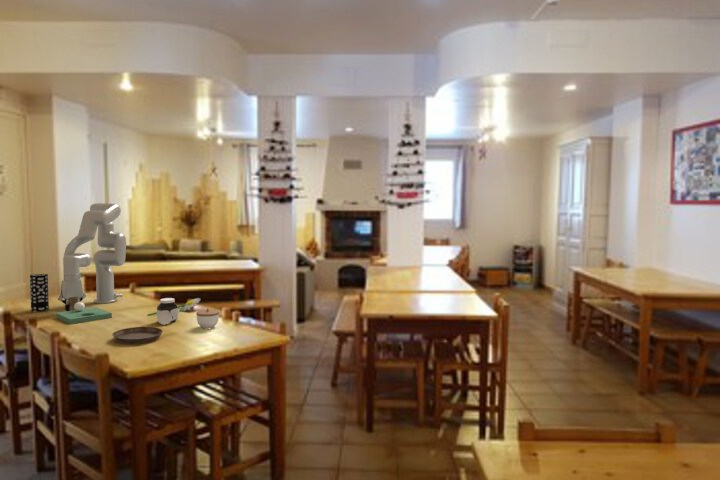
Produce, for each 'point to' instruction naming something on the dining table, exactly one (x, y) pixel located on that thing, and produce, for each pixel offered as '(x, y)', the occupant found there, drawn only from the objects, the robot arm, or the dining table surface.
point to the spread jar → (167, 311)
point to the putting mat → (83, 315)
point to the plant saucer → (137, 335)
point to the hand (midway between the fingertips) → (72, 310)
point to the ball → (79, 306)
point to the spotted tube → (39, 292)
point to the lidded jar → (207, 318)
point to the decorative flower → (185, 305)
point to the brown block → (72, 303)
